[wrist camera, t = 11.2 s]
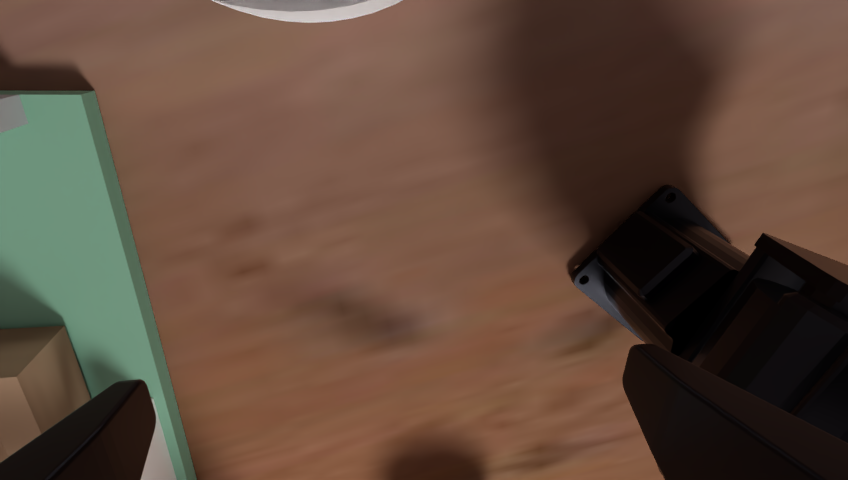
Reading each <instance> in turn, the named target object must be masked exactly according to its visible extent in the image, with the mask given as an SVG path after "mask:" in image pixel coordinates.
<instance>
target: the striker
mask: <svg viewBox="0 0 848 480" xmlns="http://www.w3.org/2000/svg"><path fill="white" fill-rule="evenodd" d="M89 400H91V398H90V395H89V393H88V390H87V387H86V384H85V381H84V379H83V376H82V373H81V370H80V368H79V365H78V362H77V359H76V357H75V354H74V351H73V348H72V346H71V343H70V340H69V337H68V334H67V332H66V329H65V326H49V327H31V328H12V329H0V462H2V461H3V460H5V459H6V458H8V457H9V456H10V455H12V454H13V453H15V452H16V451H18V450H19V449H20V448H22V447H23V446H25V445H26V444H28V443H29V442H30V441H32V440H33V439H35V438H36V437H38V436H39V435H41V434H42V433H43V432H45V431H46V430H48V429H49V428H51V427H52V426H53V425H55V424H56V423H58V422H59V421H61V420H62V419H63V418H65V417H66V416H68V415H69V414H71V413H72V412H73V411H75V410H76V409H78V408H79V407H81V406H82V405H83V404H85V403H86V402H88V401H89Z"/></svg>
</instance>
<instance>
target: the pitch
mask: <svg viewBox="0 0 848 480" xmlns="http://www.w3.org/2000/svg"><path fill="white" fill-rule="evenodd" d="M49 326H65V329H66V332H67V334H68V337H69V340H70V343H71V346H72V348H73V351H74V354H75V357H76V359H77V362H78V365H79V368H80V370H81V373H82V376H83V379H84V381H85V384H86V387H87V390H88V393H89V395H90V398H91V399H92V398H93V397H95V396H96V395H98V394H99V393H101V392H102V391H103V390H105V389H106V388H108V387H109V386H111V385H112V384H114V383H115V382H117V381H122V380H135V379H141V380H143V381H145V383H146V384H147V386H148V390H149V393H150V396H151V400H152V403H153V407H154V410H155V414H156V426H155V431H154V434H153V438H152V441H151V445H150V448H149V452H148V455H147V459H146V463H145V466H144V470H143V473H142V477H141V480H197V478H196V474H195V470H194V467H193V463H192V459H191V455H190V451H189V448H188V444H187V440H186V436H185V432H184V429H183V425H182V421H181V417H180V413H179V410H178V406H177V402H176V398H175V394H174V391H173V387H172V383H171V379H170V375H169V372H168V368H167V364H166V360H165V356H164V353H163V349H162V345H161V341H160V337H159V334H158V330H157V326H156V322H155V318H154V315H153V311H152V307H151V303H150V299H149V296H148V292H147V288H146V284H145V280H144V277H143V273H142V269H141V265H140V261H139V258H138V254H137V250H136V246H135V242H134V239H133V235H132V231H131V227H130V223H129V220H128V216H127V212H126V208H125V204H124V201H123V197H122V193H121V189H120V185H119V182H118V178H117V174H116V170H115V166H114V163H113V159H112V155H111V151H110V147H109V144H108V140H107V136H106V132H105V128H104V125H103V121H102V117H101V113H100V109H99V106H98V102H97V98H96V94H95V91H8V90H0V329H12V328H31V327H49Z"/></svg>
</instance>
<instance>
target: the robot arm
mask: <svg viewBox="0 0 848 480" xmlns="http://www.w3.org/2000/svg"><path fill="white" fill-rule="evenodd" d="M669 193H671V196H670V197H669V198H668V199H667V200H666V196H667V195H668V194H669ZM755 246H756V248H755V250H754V251H753V253H752V254H751V255H750V256H749V255H747V254H745V253H744V252H742V251H740V250H739V249H737V248H736V247H734V246H732V245H731V244H729V243H728V242H727V241H726V240H725V238H724V237H723V236H722V235H721V234H720V233H719V232H718V231H717V230H716V229H715V228H714V227H713V226H712V224H711V223H710V222H709V221H708V220H707V219H706V218H705V217H704V216H703V215H702V214H701V213H700V212H699V210H698V209H697V208H696V207H695V206H694V205H693V204H692V203H691V202H690V201H689V200H688V199H687V198H686V196H685V195H684V194H683V193H682V192H681V191H680V190H679V189H677V188H676V187H674V186H672V185H665V186H663V187H661V188H660V189H659V190H658V191H657V192H656V193H655V194H654V195H653V196H652V197H651V198H650V199H649V200H647V201H646V202H645V203H644V204H643V205H642V206H641V207H640V208H639V209H638V210H637V211H636V212H635V213H634V214H633V215H632V216H631V217H630V218H628V219H627V220H626V221H625V222H624V223H623V224H622V225H621V226H620V227H619V228H618V229H617V230H616V231H615V232H614V233H613V234H612V235H611V236H610V237H609V238H608V239H607V240H606V241H605V242H604V243H602V244H601V245H600V246H599V247H598V249H596V250H595V251H594V252H593V253H592V254H591V255H590V256H589V257H588V258H587V259H586V260H585V261H584V262H583V263H582V264H581V265H580V266H579V267H578V268H577V269H576V270H575V271H574V272H573V273H572V276H571V280H572V282H573V283H574V284H575V285H576V287H577V288H579V289H580V290H581V291H582V292H583V293H585V294H586V295H587V296H588V297H589V298H591V299H592V300H593V301H594V302H596V303H597V304H598V305H599V306H600V307H602V308H603V309H604V310H605V311H607V312H608V313H609V314H610V315H611V316H613V317H614V318H615V319H616V320H617V321H619V322H620V323H621V324H622V325H624V326H625V327H626V328H627V329H628V330H630V331H631V332H632V333H633V334H635V335H636V336H637V337H638V338H639V339H641V340H642V341H644V342H645V343H646V344H638V345H634V346H632V347H631V348H630V350H629V354H628V358H627V362H626V366H625V370H624V374H623V387H624V390H625V393H626V395H627V397H628V400H629V402H630V404H631V407H632V409H633V411H634V413H635V416H636V418H637V420H638V423H639V425H640V427H641V429H642V432H643V434H644V436H645V439H646V441H647V443H648V445H649V448H650V450H651V452H652V454H653V456H654V458H655V460H656V462H657V465H658V468H659V471H660V472H661V474H662V475H663V477H664V479H665V480H848V265H846V264H843V263H840V262H838V261H835V260H833V259H830V258H827V257H825V256H822V255H820V254H817V253H814V252H812V251H809V250H807V249H804V248H801V247H799V246H796V245H794V244H791V243H789V242H786V241H783V240H781V239H778V238H776V237H773V236H770V235H768V234H765V233H762V235H761V236H760V238H759V239H758V240H757V242H756V243H755ZM582 276H585V278H584V279H583V280H579V279H580V278H581V277H582ZM155 426H156V414H155V410H154V407H153V403H152V400H151V396H150V393H149V390H148V386H147V384H146V383H145V381H143V380H141V379H135V380H122V381H117V382H115V383H114V384H112V385H111V386H109V387H108V388H106V389H105V390H103V391H102V392H101V393H99V394H98V395H96V396H95V397H93V398H92V399H91V400H89V401H88V402H86V403H85V404H83V405H82V406H81V407H79V408H78V409H76V410H75V411H73V412H72V413H71V414H69V415H68V416H66V417H65V418H63V419H62V420H61V421H59V422H58V423H56V424H55V425H53V426H52V427H51V428H49V429H48V430H46V431H45V432H43V433H42V434H41V435H39V436H38V437H36V438H35V439H33V440H32V441H30V442H29V443H28V444H26V445H25V446H23V447H22V448H20V449H19V450H18V451H16V452H15V453H13V454H12V455H10V456H9V457H8V458H6V459H5V460H3V461H2V462H0V480H141V477H142V473H143V470H144V466H145V463H146V459H147V455H148V452H149V448H150V445H151V441H152V438H153V434H154V431H155Z"/></svg>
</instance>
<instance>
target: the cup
mask: <svg viewBox="0 0 848 480" xmlns="http://www.w3.org/2000/svg"><path fill="white" fill-rule="evenodd" d="M212 1H214V2H217V3H219V4H222V5H225V6H227V7H230V8H233V9H235V10H238V11H241V12H245V13H248V14H252V15H256V16H259V17H263V18H269V19H275V20H282V21H290V22H306V23H311V22H332V21H338V20H345V19H352V18H356V17H359V16H363V15H367V14H371V13H374V12H377V11H379V10H382V9H385V8H387V7H390V6H392V5H395V4H397V3H398V2H400V1H402V0H212Z"/></svg>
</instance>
